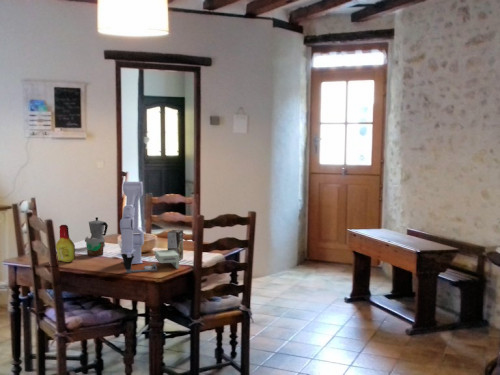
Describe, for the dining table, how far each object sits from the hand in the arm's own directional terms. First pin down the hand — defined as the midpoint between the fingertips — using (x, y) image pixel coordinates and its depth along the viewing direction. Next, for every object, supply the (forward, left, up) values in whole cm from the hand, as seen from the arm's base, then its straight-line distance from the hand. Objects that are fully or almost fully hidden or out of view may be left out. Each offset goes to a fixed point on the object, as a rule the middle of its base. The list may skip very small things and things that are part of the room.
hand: (127, 268), depth 284 cm
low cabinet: (+21, +8, -2) cm, 23 cm away
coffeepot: (-9, +69, -2) cm, 70 cm away
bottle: (-29, +34, -2) cm, 44 cm away
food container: (-14, +45, -2) cm, 47 cm away
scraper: (+7, +4, -2) cm, 9 cm away
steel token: (+12, +5, -2) cm, 13 cm away
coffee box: (+29, +21, -2) cm, 36 cm away
